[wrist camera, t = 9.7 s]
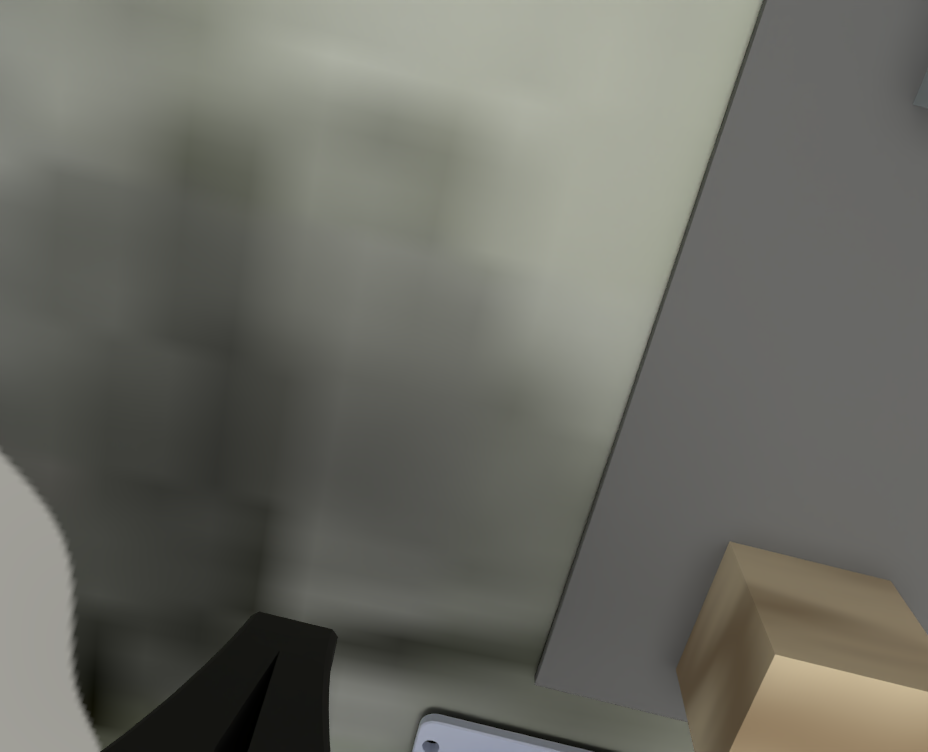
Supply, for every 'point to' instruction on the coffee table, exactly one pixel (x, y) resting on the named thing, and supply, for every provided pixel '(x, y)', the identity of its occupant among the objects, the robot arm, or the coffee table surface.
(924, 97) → the slate block
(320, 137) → the coffee table surface
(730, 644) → the beech block
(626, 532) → the mat
